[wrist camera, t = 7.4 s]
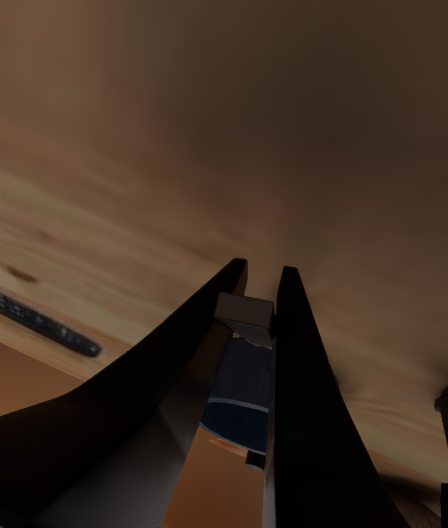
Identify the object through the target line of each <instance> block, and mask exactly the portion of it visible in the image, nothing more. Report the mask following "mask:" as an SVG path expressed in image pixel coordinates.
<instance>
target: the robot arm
mask: <svg viewBox="0 0 448 528" xmlns="http://www.w3.org/2000/svg"><path fill="white" fill-rule="evenodd" d="M247 279H248V262H247V260H246V259H242V258H234V259H233V260H232V261H231V262H229V263H228V264H227V265H226V266H225V267H224V268H223V269H222V270H220V271H219V272H218V273H217V274H216V275H215V276H214V277H213V278H211V279H210V280H209V281H208V282H207V283H206V284H205V285H204V286H202V287H201V288H200V289H199V290H198V291H197V292H196V293H195V294H194V295H192V296H191V297H190V298H189V299H188V300H187V301H186V302H185V303H183V304H182V305H181V306H180V307H179V308H178V309H177V310H176V311H174V312H173V313H172V314H171V315H170V316H169V317H168V318H167V319H166V320H164V321H163V322H162V324H160V325H159V326H158V327H156V328H155V329H154V330H153V331H152V332H151V333H150V334H148V335H147V336H146V337H145V338H144V339H142V340H141V341H140V342H139V343H138V344H136V345H135V346H134V347H132V348H131V349H130V350H129V351H127V352H126V353H125V354H123V355H122V356H121V357H119V358H118V359H116V360H115V361H114V362H112V363H111V364H110V365H108V366H107V367H105V368H104V369H103V370H101V371H100V372H99V373H97V374H96V375H94V376H93V377H92V378H90V379H89V380H88V381H86V382H85V383H83V384H82V385H80V386H79V387H77V388H75V389H74V390H72V391H70V392H69V393H66V394H64V395H62V396H60V397H57V398H54V399H51V400H48V401H45V402H42V403H39V404H36V405H33V406H30V407H27V408H24V409H20V410H18V411H15V412H11V413H8V414H5V415H2V416H0V528H160V527H161V524H162V521H163V519H164V516H165V513H166V511H167V508H168V505H169V503H170V500H171V497H172V495H173V492H174V489H175V487H176V484H177V482H178V479H179V476H180V474H181V471H182V468H183V466H184V463H185V460H186V458H187V454H188V452H189V450H190V447H191V444H192V442H193V439H194V436H195V434H196V431H197V428H198V426H199V423H200V421H201V418H202V415H203V413H204V410H205V407H206V405H207V402H208V399H209V397H210V394H211V391H212V389H213V386H214V383H215V381H216V378H217V376H218V373H219V370H220V368H221V365H222V362H223V360H224V357H225V354H226V352H227V349H228V346H229V344H230V341H231V338H232V336H233V333H234V331H233V330H232V329H230V328H229V327H227V326H226V325H225V324H223V323H222V322H220V321H219V320H217V319H216V318H215V317H214V313H215V309H216V305H217V301H218V297H219V293H220V292H227V293H232V294H237V295H242V296H244V293H245V289H246V284H247ZM328 362H329V360H328V357H327V354H326V351H325V348H324V345H323V342H322V339H321V337H320V334H319V331H318V328H317V325H316V322H315V319H314V316H313V313H312V310H311V307H310V304H309V301H308V298H307V295H306V292H305V289H304V286H303V283H302V280H301V277H300V274H299V272H298V269H297V268H296V267H291V266H284V267H283V271H282V275H281V280H280V284H279V288H278V293H277V300H276V309H275V321H274V330H273V338H272V354H271V372H270V390H269V409H268V427H267V446H266V464H265V483H264V484H265V485H264V502H263V520H262V528H412V527H411V526H410V525H409V523H408V522H407V521H406V519H405V518H404V517H403V515H402V514H401V513H400V511H399V510H398V508H397V507H396V505H395V504H394V502H393V500H392V499H391V497H390V495H389V494H388V492H387V490H386V488H385V487H384V485H383V483H382V481H381V479H380V477H379V475H378V473H377V471H376V469H375V467H374V465H373V463H372V460H371V458H370V456H369V454H368V452H367V450H366V448H365V446H364V444H363V442H362V439H361V437H360V435H359V433H358V431H357V429H356V427H355V425H354V423H353V421H352V419H351V416H350V414H349V412H348V410H347V407H346V405H345V403H344V400H343V398H342V396H341V393H340V391H339V388H338V385H337V383H336V380H335V377H334V374H333V371H332V369H331V366H330V364H329V363H328ZM434 407H435V410H436V411H438V412H441V417H442V422H443V427H444V431H445V436H446V441H447V446H448V393H447V394H445V395H444V396H443V397H442V398H440V399H439V400H438V401H437V402H435V403H434ZM440 504H441V528H448V483H441V496H440Z"/></svg>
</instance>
